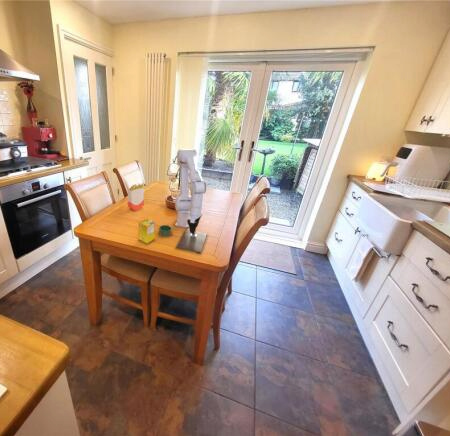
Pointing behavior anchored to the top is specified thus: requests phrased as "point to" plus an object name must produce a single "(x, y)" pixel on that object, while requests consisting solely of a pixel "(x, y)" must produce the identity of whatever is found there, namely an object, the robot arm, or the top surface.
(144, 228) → the supplement box
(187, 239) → the board
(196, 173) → the robot arm
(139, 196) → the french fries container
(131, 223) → the top surface
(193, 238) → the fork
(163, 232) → the green bowl
